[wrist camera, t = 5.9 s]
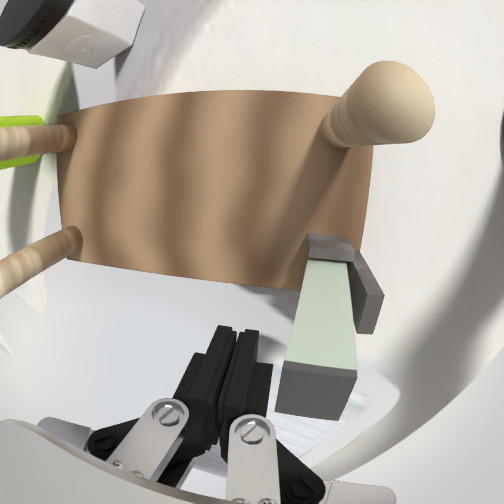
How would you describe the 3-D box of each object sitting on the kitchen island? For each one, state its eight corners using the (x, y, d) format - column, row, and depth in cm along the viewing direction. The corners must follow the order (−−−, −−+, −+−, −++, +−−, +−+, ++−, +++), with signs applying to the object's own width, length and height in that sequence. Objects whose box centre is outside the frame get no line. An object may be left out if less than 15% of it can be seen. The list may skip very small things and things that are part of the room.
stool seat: (368, 107, 18) (465, 56, 5) (346, 284, 23) (384, 413, 10) (70, 116, 21) (-42, 122, 8) (78, 252, 27) (-15, 312, 14)
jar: (82, 82, 20) (-10, 71, 9) (74, 30, 18) (-4, 8, 7) (154, 35, 18) (68, -14, 7) (139, -15, 16) (70, -63, 4)
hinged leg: (309, 248, 20) (344, 253, 20) (305, 280, 21) (338, 285, 20) (282, 367, 9) (357, 377, 8) (274, 411, 10) (338, 420, 9)
